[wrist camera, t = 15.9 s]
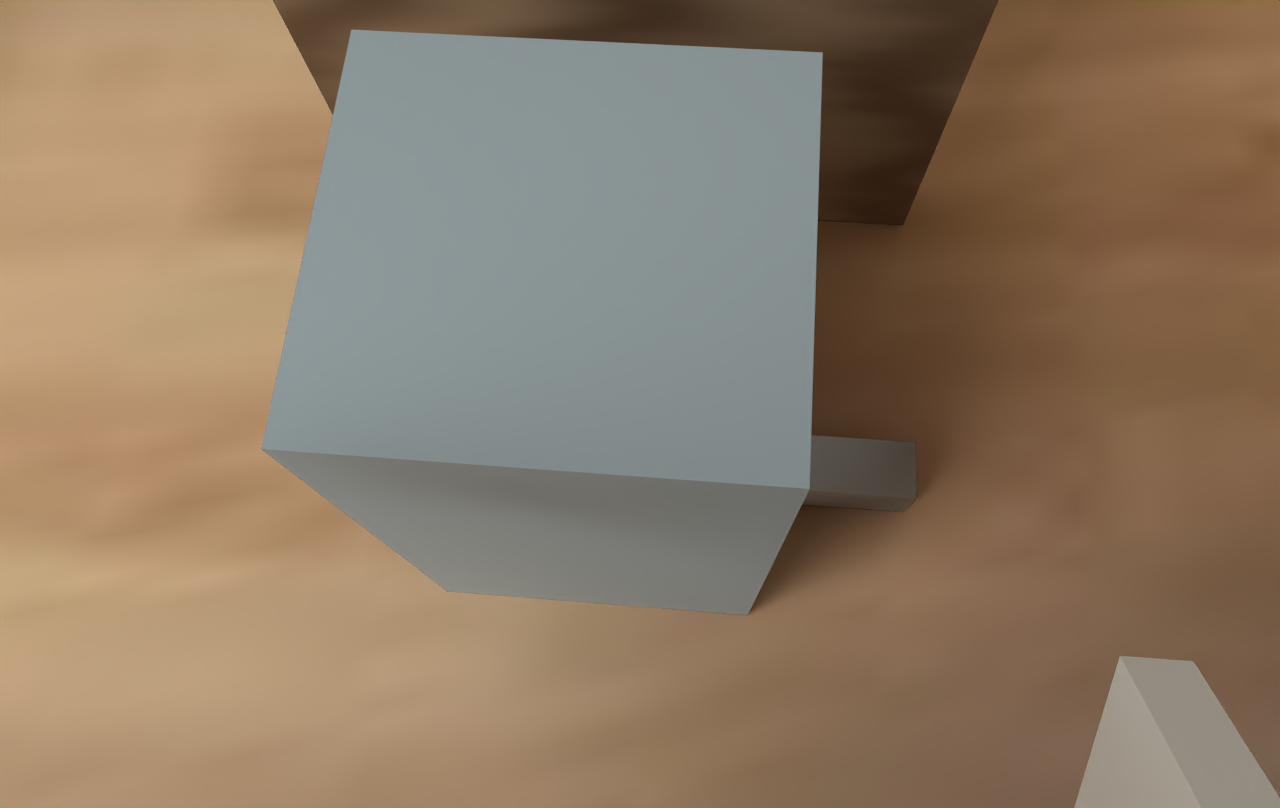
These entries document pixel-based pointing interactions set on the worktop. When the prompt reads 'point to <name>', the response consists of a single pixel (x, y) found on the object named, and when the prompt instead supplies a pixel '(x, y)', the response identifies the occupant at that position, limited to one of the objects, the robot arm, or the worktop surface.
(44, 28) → the worktop surface
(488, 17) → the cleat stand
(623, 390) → the mini cabinet
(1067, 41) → the worktop surface
